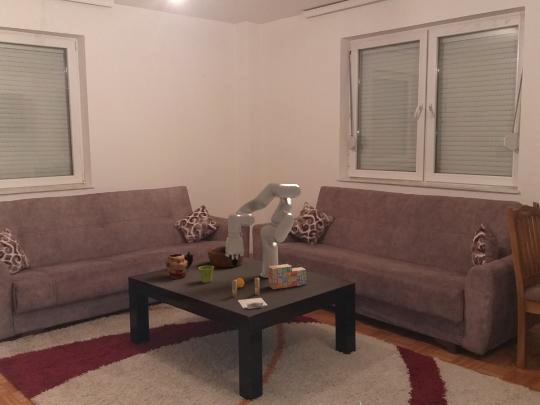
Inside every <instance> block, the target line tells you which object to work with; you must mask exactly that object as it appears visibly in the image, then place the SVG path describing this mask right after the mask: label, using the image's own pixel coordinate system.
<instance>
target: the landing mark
mask: <svg viewBox="0 0 540 405" xmlns="http://www.w3.org/2000/svg"><path fill="white" fill-rule="evenodd" d="M237 302H238V303H239V304H240V306H241V308H243V309H248V308H247V303H255V302H263V307H266V306H268V304H267V303H266V301H264V299H263V298H262V297H256V298H246V299H238V300H237Z"/></svg>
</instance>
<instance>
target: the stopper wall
mask: <svg viewBox="0 0 540 405" xmlns="http://www.w3.org/2000/svg"><path fill="white" fill-rule="evenodd" d="M261 308H264V306H263V302H255V303H247V308H246V309H248V310H250V309H261Z"/></svg>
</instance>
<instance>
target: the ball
mask: <svg viewBox="0 0 540 405" xmlns="http://www.w3.org/2000/svg"><path fill="white" fill-rule="evenodd" d="M235 280H237V289H241V288H243V287H244V286H245V281H244V280H245V279H243V278H241V277H238V278H236V279H235Z"/></svg>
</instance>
